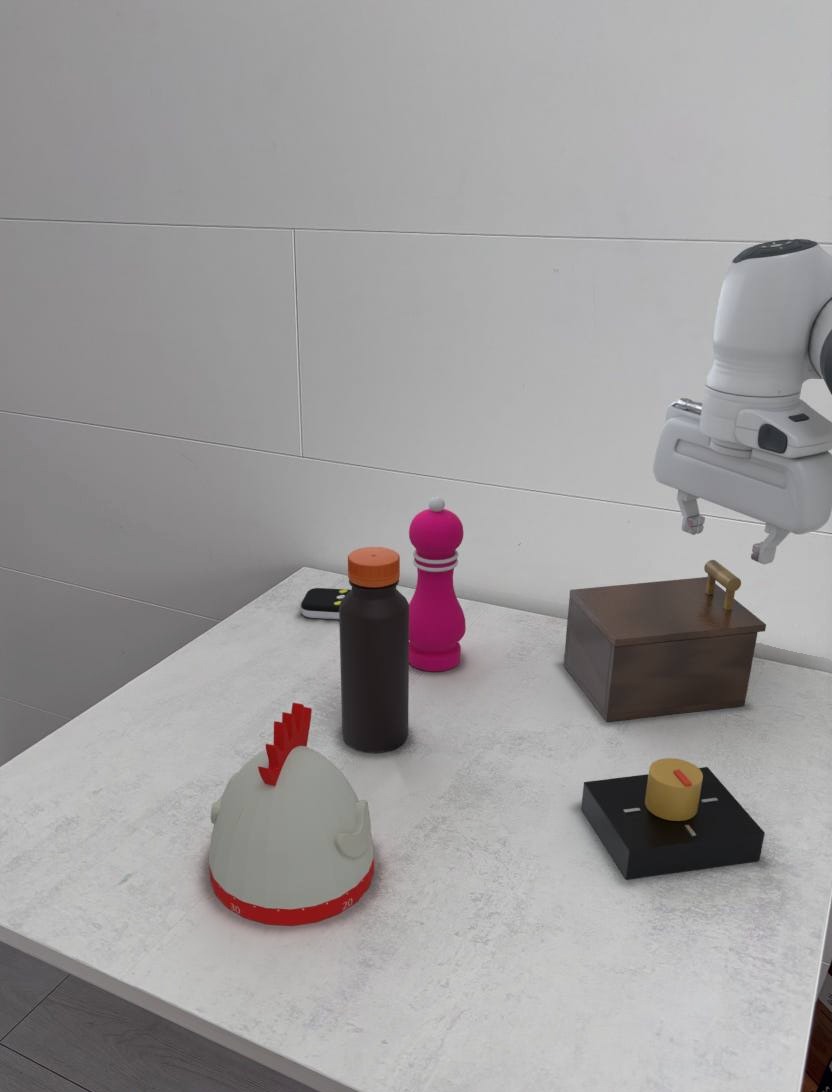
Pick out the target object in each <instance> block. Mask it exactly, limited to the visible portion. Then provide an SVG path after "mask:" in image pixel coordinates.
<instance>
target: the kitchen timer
mask: <svg viewBox="0 0 832 1092" xmlns="http://www.w3.org/2000/svg"><path fill="white" fill-rule="evenodd" d="M312 709H313V708H312V707H308V706H305V705H304V704H303V703H298V702H292V704H291V711H290V712H291V713H290V712H286V711H282V712H281V713H282V714H281V721H277V720H274V721H273V744H271V743H265V749H264V750H261V751H259V752H257V754H255V755H254V756H253V757H252V758H250V759H249V760H248V761H247V762H246V763H245V764H243V766H242V767H241V768H240V769H239V770H238V771H237V772H235V773H233V775H231V776H230V778H229V780H228V782H227V784H226V786H225V788H224V790H223V792H222V794H221V796H220V797H219V799H218V800H217V801H214V802H212V804H211V809H210V823H211V824H213V827H212V832H211V838H210V844H209V853H208V854H209V855H208V868H209V878H210V882H211V885H212V888H213V891H214V895H215V896H216V897H217V898H218V899H219V900H220V901H221V902H222V904H223V905H224V906H225V907H226V908H227V909H228V910H230V911H232V912H234V913H236V914H237V915H239V916H241V917H242V918H244V919H247V920H251V921H254V922H258V923H261V924H265V925H273V926H274V925H275V926H290V927H291V926H298V925H299V926H300V925H305V924H312V923H317V922H320V921H323V920H326V919H328V918H332V917H335V916H337V915H340V914H342V912H344V911H345V910H347V909H349V908H350V907H351V906H353V905H354V904H357V902H358V901H360V899H361V898H362V896H363V895H364V894H365V893H366V892H367V890H368V889H369V888H370V886H371V882H372V880H373V877H374V874H375V855H374V844H373V837H372V824H371V815H370V809H369V803H368V800H366V799H363V800H360V799H359V797H358V795H357V793H356V791H355V790H354V788H353V787H352V785H351V783H350V782H349V780H348V778H347V777H346V776H345V774H344V773H343V772H342V771H341V770H340V768H338V767H337V766H336V764H334V763H333V762H332V761H331V760H330V759H328V758H327V757H326V756H325V755H324V754H322V753H321V752H319V751H317V750H315V749H312V748H311V747H308V746H307V745H308V741H309V735H310V727H311V720H312V713H313V712H312V711H313V710H312Z"/></svg>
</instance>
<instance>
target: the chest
mask: <svg viewBox="0 0 832 1092" xmlns="http://www.w3.org/2000/svg"><path fill="white" fill-rule="evenodd" d="M568 598H569V599H568V608H567V609H568V610H567V620H566V632H565V646H564V656H563V667H564V668H565V670H566V671H567V673H569V675H570V676H571V677H572V679H573V680H574V682H576V684H577V685H578V687H579V688H580V689H581V690H582V692H583V693H584V694H585V696H586V697H587V698H588V700H589V701H590V702H591V704H592V705H593V707H594V708H595V709H596V710H597V711H598V713H599V714H600V715H601V717H602V718H603V719H604V720H605V722H607V723H608V722H618V721H625V720H634V719H643V718H653V717H659V716H668V715H669V716H670V715H678V714H688V713H695V712H704V711H712V710H720V709H721V710H722V709H729V708H738V707H744V706H745V704H746V699H747V694H748V688H749V684H750V683H749V682H750V678H751V672H752V666H753V660H754V655H755V649H756V645H757V644H756V643H757V639H758V633H759V632H754V633H744V634H734V635H725V636H715V637H705V638H696V639H686V640H676V641H667V642H657V643H647V644H638V645H628V646H618V647H615V646H614V645H613V644H612V643H611V642H610V641H609V640H608V639H607V637H606V636H605V635H604V634H603V633H602V632H601V631H600V630H599V629H598V627H597V626H596V625H595V624H594V623H593V622H592V621H591V620H590V618H589V617H588V616H587V615H586V614H585V613H584V612H583V611H582V610H581V608H580V607H579V606H578V605H577V604H576V603H575V602H574V601H573V599H572V598H571V597H570V596H569V597H568Z"/></svg>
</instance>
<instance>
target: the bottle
mask: <svg viewBox="0 0 832 1092" xmlns="http://www.w3.org/2000/svg"><path fill="white" fill-rule="evenodd" d="M400 576H401V556H400V553H398V552H397V551H396V550H394V549H392V548H388V547H383V546H365V547H360V548H357V549H355V550H353V551H351V552H350V553H349V554H348V555H347V578H348V584H349V586H351V589H350V590H351V591H350V592H349V593H348V594H347V595H346V596H345V597H344V598H343V599H342V600H341V603H340V605H339V619H338V621H339V622H338V623H339V656H340V658H339V660H340V663H339V665H340V695H341V696H340V698H341V699H340V700H341V734H342V737H343V740H344V741H345V742H346V743H347V745H348V746H350V747H352V748H354V749H356V750H358V751H361V752H365V753H384V752H389V751H392V750H395V749H396V748H399V747H400V746H401V745H403V744H404V743H405V742H406V740H407V739H408V735H409V700H410V698H409V693H410V692H409V691H410V688H409V687H410V685H409V683H410V680H409V679H410V663H409V642H410V641H409V603H410V602H409V601H408V599H407V598H406V597H405V596H404V595H403V593H402V592H400V591H399V590H398V589H397V586H398V585H399V583H400Z"/></svg>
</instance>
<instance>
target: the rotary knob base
mask: <svg viewBox="0 0 832 1092" xmlns="http://www.w3.org/2000/svg"><path fill="white" fill-rule="evenodd" d="M698 768H699V769H700V770H701V772H702V774H703V780H702V786H701V792H700V798H699V804H698V810H697V813H696V815H695V816H694V817H692V818H691V819H688V820H684V821H670V820H666V819H662V818H660V817H657V816H655V815H654V814H652V813H651V812H650V811H649V810H648V809H647V807H646V805H645V797H646V789H647V782H648V775H649V773H647V774H638V775H629V776H622V777H614V778H607V779H605V778H604V779H598V780H590V781H584V782H583V785H582V786H583V787H582V797H581V805H580V806H581V807H580V809H581V811H582V812H583V814H584V816H585V817H586V819H587V820H588V822H589V824H590V825H591V826H592V828H593V830H594V831H595V833H596V835H597V836H598V838H599V839H600V841H601V842H602V844H603V846H604V848H605V849H606V850H607V852H608V853H609V856H610V857H611V858H612V860H613V862H614V863H615V864H616V866H617V868H618V869H619V871H620V873H621V874H622V875H623V877H624V879H625V880H632V879H639V878H646V877H655V876H660V875H668V874H676V873H683V872H690V871H697V870H704V869H705V870H706V869H712V868H718V867H719V868H720V867H725V866H732V865H739V864H747V863H754V862H759V861H760V859H761V853H762V849H763V844H764V839H765V834H766V833H765V831H764V829H762V828H761V827H760V825H759V824H758V823H757V822H756V821H755V820H754V819H753V817H752V816H751V815H750V813H748V811H746V809H745V808H744V807H743V806H742V805H741V803H739V801H738V800H737V799H736V797H734V796H733V794H732V793H731V792H730V791H729V790H728V789H727V787H726V786H725V785H724V784H723V783H722V782H721V781H720V780H719V778H718V777H717V776H716V774H715V773H713V771H712V770H711V769H710V768H709V767H708V766H702V767H698Z"/></svg>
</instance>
